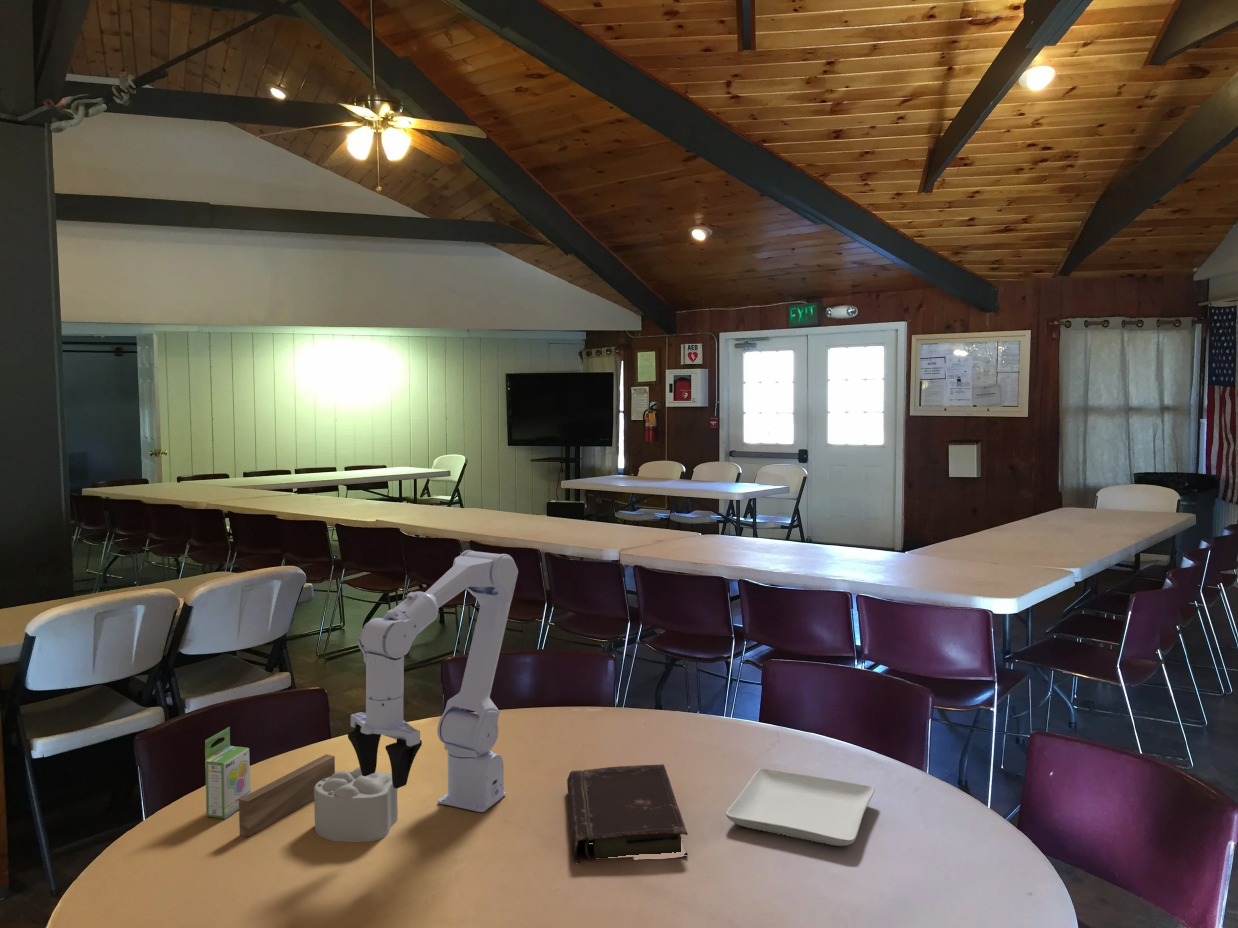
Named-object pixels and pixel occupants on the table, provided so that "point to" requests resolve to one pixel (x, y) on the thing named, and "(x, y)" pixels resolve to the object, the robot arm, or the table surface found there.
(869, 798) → the salad plate
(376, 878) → the table surface
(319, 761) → the walnut board
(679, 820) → the diary
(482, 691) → the robot arm
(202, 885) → the table surface
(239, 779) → the ink box
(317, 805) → the lumpy-topped squat cylinder
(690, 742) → the table surface
